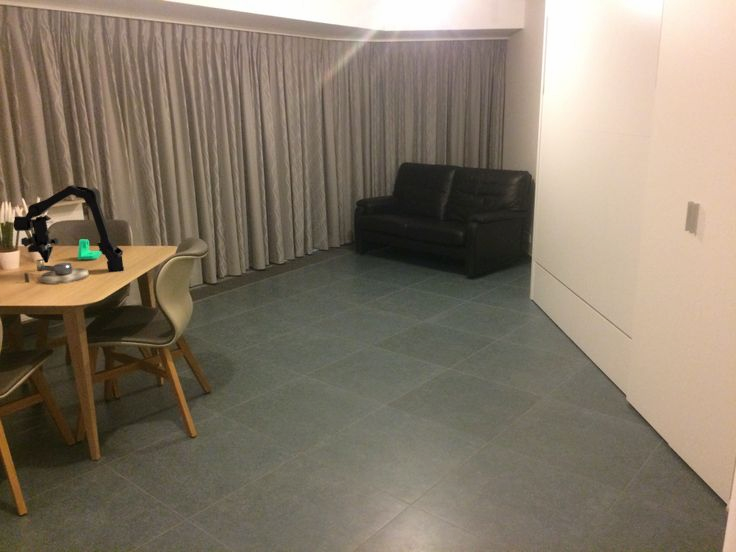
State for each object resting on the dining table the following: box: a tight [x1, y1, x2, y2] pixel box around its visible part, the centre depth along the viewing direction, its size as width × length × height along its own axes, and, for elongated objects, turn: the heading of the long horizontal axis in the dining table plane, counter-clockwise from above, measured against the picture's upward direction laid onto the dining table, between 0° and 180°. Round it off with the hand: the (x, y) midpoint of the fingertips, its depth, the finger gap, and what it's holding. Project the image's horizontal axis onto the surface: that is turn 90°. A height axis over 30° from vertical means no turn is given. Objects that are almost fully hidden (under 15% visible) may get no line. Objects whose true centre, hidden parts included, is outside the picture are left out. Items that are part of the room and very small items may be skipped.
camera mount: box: [77, 238, 103, 260], centre depth 297 cm, size 12×8×10 cm, turn 4°
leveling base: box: [23, 267, 90, 285], centre depth 260 cm, size 26×20×4 cm
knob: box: [35, 258, 73, 275], centre depth 261 cm, size 17×7×6 cm, turn 78°
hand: (46, 262), depth 269 cm, fingers closed
